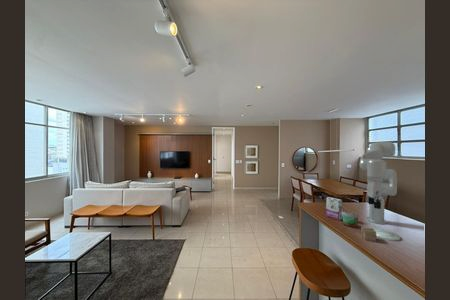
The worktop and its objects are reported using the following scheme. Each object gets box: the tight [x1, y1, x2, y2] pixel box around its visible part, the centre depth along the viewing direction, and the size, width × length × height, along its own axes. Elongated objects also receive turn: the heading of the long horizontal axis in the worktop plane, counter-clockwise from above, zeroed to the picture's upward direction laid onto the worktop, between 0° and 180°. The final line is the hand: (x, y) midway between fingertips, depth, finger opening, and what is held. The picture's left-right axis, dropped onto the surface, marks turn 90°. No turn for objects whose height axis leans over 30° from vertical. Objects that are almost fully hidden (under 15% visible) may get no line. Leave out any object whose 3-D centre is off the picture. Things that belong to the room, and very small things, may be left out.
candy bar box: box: [325, 196, 343, 221], centre depth 159 cm, size 11×5×16 cm, turn 30°
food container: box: [341, 209, 360, 229], centre depth 143 cm, size 12×6×10 cm, turn 23°
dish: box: [373, 228, 401, 242], centre depth 127 cm, size 14×14×1 cm
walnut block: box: [360, 226, 377, 242], centre depth 123 cm, size 6×6×6 cm
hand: (374, 206), depth 121 cm, fingers open, 9 cm apart
